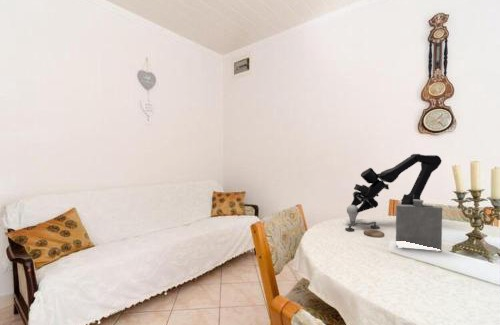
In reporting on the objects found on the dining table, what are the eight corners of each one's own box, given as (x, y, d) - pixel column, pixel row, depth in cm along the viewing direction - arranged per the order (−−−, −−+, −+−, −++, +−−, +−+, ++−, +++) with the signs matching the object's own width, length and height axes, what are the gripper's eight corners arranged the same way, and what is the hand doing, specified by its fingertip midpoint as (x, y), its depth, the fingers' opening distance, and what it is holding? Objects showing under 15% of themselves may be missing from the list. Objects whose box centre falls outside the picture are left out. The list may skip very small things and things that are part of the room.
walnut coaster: (386, 233, 120) (386, 232, 120) (381, 238, 113) (382, 237, 113) (366, 230, 126) (366, 228, 126) (361, 234, 119) (361, 233, 119)
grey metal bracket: (374, 226, 131) (374, 220, 131) (380, 228, 128) (380, 222, 127) (345, 229, 127) (345, 223, 127) (349, 232, 123) (349, 225, 123)
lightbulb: (348, 222, 139) (348, 203, 139) (360, 224, 135) (360, 204, 135) (345, 225, 135) (345, 205, 134) (356, 227, 131) (356, 206, 130)
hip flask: (396, 247, 103) (397, 199, 102) (394, 244, 106) (394, 198, 106) (442, 252, 98) (443, 201, 97) (438, 248, 101) (439, 199, 101)
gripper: (356, 177, 143) (337, 196, 144) (372, 181, 125) (350, 203, 125) (370, 190, 144) (350, 209, 144) (387, 196, 125) (365, 218, 125)
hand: (353, 209), depth 135 cm, fingers open, 9 cm apart
